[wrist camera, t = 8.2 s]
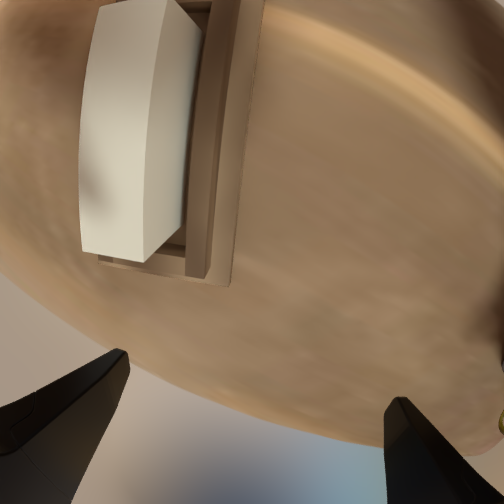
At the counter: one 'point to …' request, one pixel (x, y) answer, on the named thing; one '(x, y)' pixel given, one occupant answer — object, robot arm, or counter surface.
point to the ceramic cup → (502, 428)
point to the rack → (212, 146)
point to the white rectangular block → (136, 127)
